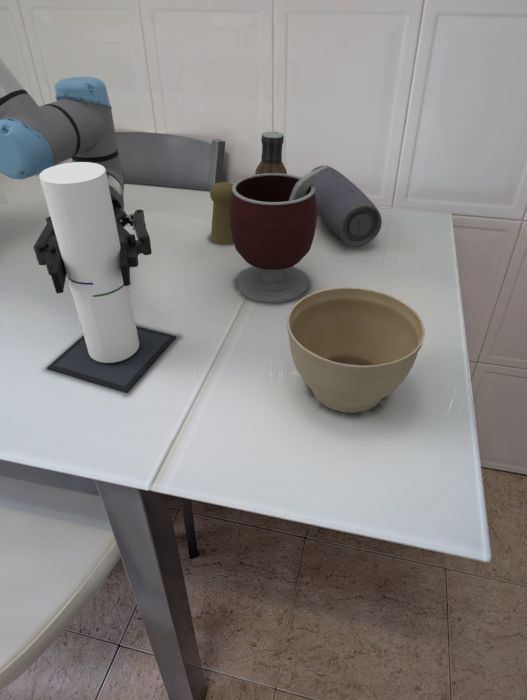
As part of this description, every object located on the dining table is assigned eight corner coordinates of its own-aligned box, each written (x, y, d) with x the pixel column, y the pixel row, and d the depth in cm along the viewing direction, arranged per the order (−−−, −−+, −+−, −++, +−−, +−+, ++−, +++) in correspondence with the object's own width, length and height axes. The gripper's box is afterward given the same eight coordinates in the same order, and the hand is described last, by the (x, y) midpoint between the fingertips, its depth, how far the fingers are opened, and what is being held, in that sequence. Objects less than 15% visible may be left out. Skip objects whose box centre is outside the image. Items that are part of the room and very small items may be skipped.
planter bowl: (307, 340, 74) (311, 276, 67) (417, 367, 69) (433, 302, 62) (266, 412, 62) (266, 344, 56) (394, 450, 57) (412, 381, 51)
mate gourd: (237, 308, 81) (232, 187, 68) (228, 267, 91) (223, 156, 79) (329, 300, 82) (341, 181, 70) (310, 261, 93) (318, 151, 81)
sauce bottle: (252, 242, 99) (251, 138, 87) (254, 229, 104) (253, 128, 92) (284, 243, 99) (288, 139, 87) (285, 229, 104) (288, 129, 92)
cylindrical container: (98, 330, 74) (55, 161, 59) (145, 333, 74) (114, 162, 58) (80, 361, 69) (27, 182, 53) (130, 364, 68) (92, 184, 53)
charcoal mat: (47, 369, 69) (46, 367, 69) (103, 319, 78) (103, 317, 78) (126, 393, 65) (126, 391, 65) (176, 337, 74) (175, 335, 74)
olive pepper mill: (219, 246, 98) (216, 192, 91) (205, 235, 102) (201, 182, 95) (245, 239, 100) (244, 186, 93) (231, 228, 104) (229, 176, 97)
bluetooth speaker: (380, 249, 97) (388, 200, 91) (335, 255, 95) (341, 204, 89) (338, 205, 114) (343, 161, 108) (300, 209, 112) (302, 164, 106)
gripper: (167, 222, 80) (179, 296, 63) (37, 233, 77) (11, 315, 59) (161, 176, 76) (172, 242, 58) (22, 186, 72) (-10, 259, 55)
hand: (91, 279), depth 59 cm, fingers closed on cylindrical container, 7 cm apart
